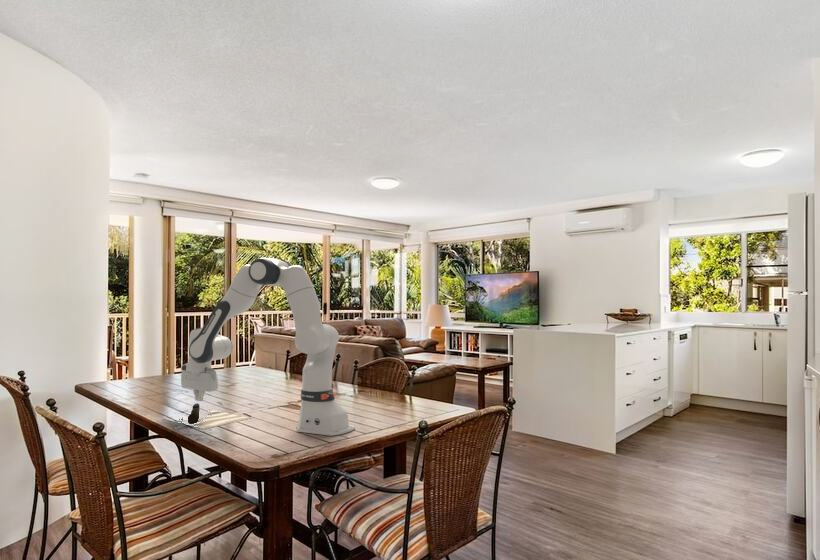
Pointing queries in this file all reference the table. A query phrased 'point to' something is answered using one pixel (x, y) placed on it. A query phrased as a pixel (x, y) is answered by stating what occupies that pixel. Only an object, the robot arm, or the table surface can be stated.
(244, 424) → the table surface
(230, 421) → the sheet
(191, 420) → the hand tool
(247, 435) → the table surface
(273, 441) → the table surface
